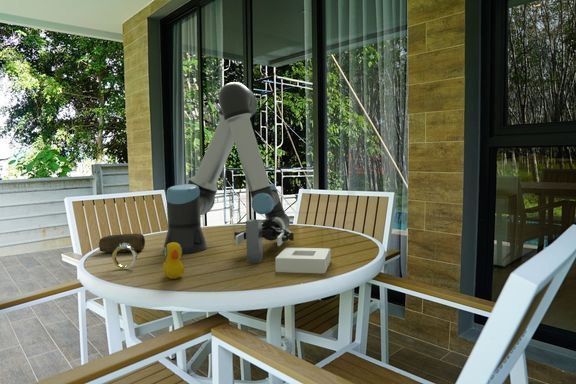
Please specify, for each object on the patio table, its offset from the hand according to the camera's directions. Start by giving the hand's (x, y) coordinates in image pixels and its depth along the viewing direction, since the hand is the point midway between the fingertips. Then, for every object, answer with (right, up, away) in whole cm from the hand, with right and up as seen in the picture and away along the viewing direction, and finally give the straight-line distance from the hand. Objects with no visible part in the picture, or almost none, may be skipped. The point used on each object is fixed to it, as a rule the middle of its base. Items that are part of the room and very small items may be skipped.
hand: (257, 241), depth 128 cm
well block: (+14, -7, -7) cm, 17 cm away
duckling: (-22, -8, -16) cm, 28 cm away
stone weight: (-50, -7, +20) cm, 54 cm away
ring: (-39, -8, -5) cm, 40 cm away
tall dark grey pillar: (-1, -6, +1) cm, 6 cm away
